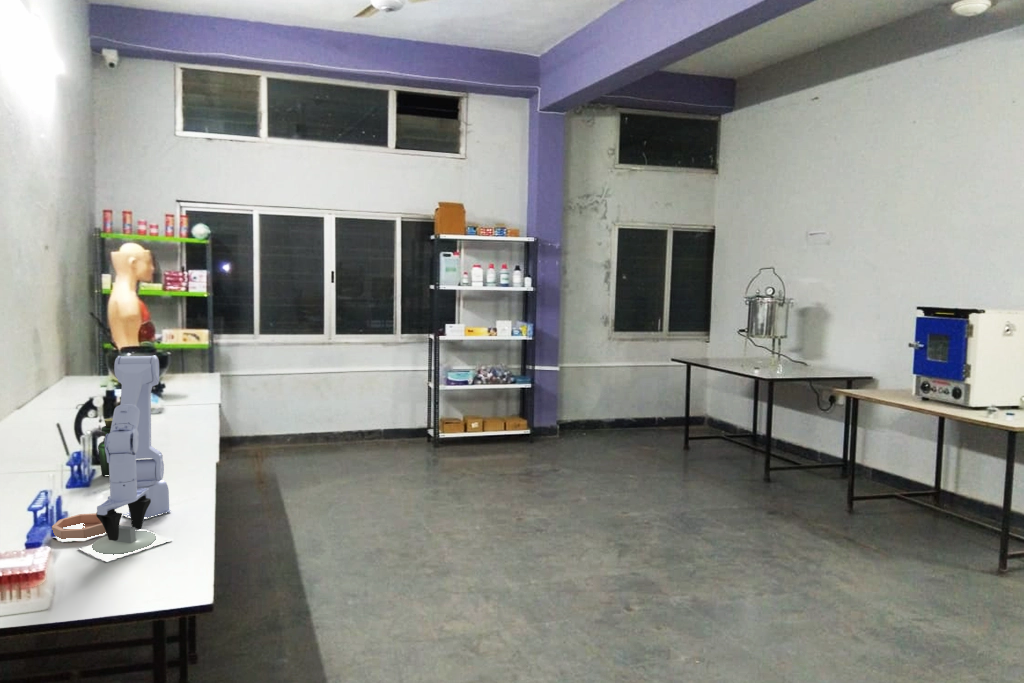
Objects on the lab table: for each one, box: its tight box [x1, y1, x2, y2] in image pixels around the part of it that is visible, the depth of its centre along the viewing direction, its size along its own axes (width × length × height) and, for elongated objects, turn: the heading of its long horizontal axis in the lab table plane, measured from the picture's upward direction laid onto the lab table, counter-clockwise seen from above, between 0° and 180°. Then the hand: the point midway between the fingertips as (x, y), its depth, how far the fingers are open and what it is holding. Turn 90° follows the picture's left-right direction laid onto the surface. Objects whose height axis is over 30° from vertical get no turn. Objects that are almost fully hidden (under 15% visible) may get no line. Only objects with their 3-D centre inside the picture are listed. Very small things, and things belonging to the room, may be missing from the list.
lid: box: [92, 524, 156, 555], centre depth 173 cm, size 14×14×4 cm
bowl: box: [51, 512, 106, 539], centre depth 180 cm, size 12×12×3 cm
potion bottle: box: [97, 417, 113, 476], centre depth 229 cm, size 8×8×18 cm
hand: (125, 534), depth 173 cm, fingers open, 7 cm apart
